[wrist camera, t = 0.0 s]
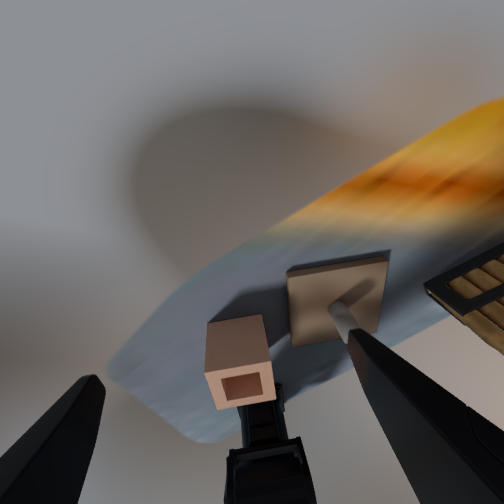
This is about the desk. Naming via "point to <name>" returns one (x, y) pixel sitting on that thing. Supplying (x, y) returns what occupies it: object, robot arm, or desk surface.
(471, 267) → the ammunition clip
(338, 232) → the desk surface
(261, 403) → the robot arm
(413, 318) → the desk surface
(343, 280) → the pin board
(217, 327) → the collar
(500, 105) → the desk surface
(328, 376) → the desk surface
